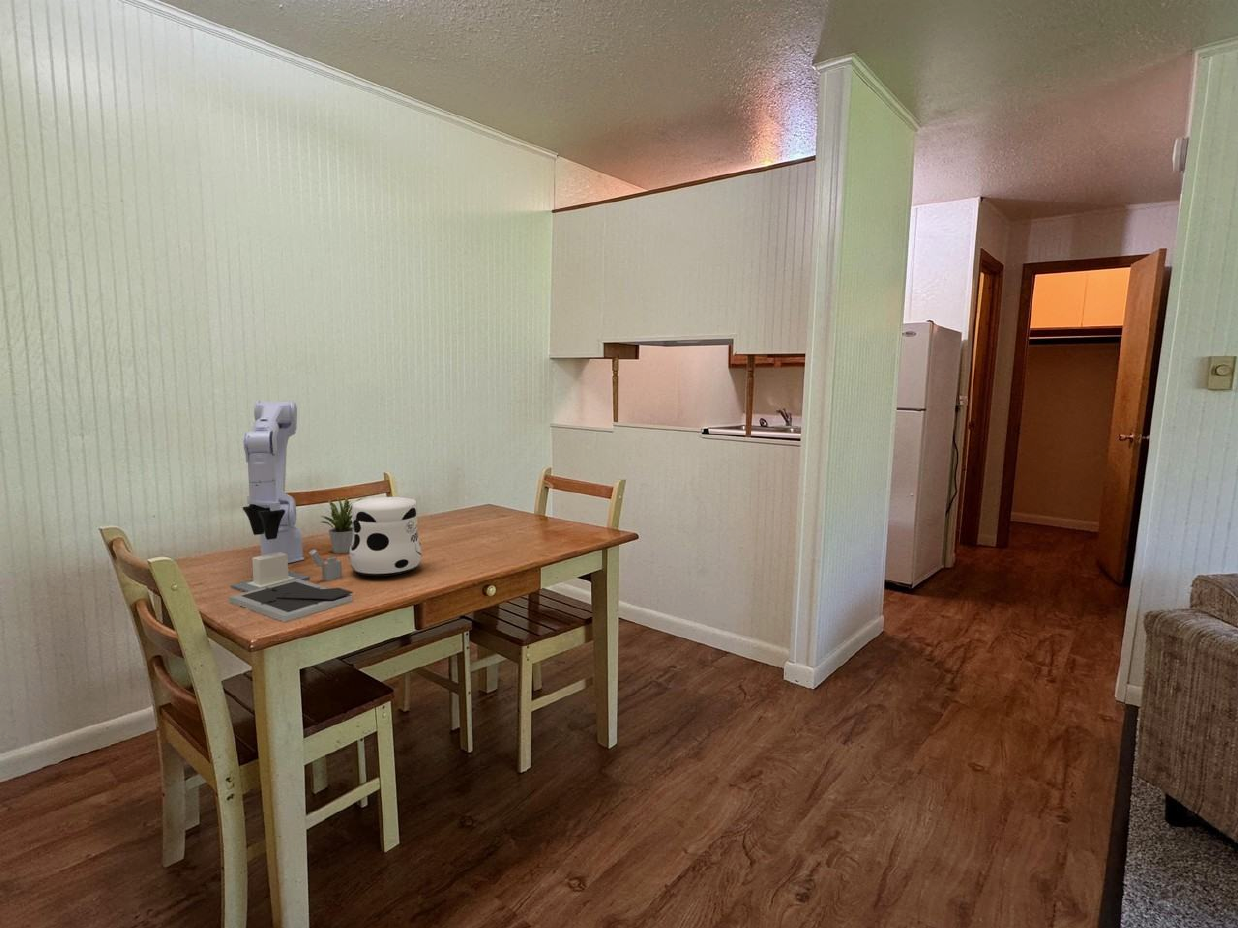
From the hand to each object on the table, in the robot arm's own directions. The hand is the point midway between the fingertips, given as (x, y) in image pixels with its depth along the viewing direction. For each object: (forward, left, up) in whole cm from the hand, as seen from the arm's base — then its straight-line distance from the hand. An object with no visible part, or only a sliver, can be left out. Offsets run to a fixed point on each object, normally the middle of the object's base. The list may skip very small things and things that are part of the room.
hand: (265, 536), depth 159 cm
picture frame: (+6, +21, -11) cm, 24 cm away
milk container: (-20, +19, -11) cm, 30 cm away
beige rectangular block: (+2, +5, -10) cm, 11 cm away
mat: (+2, +5, -10) cm, 11 cm away
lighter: (-7, +13, -11) cm, 18 cm away
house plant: (-27, -6, -11) cm, 30 cm away
